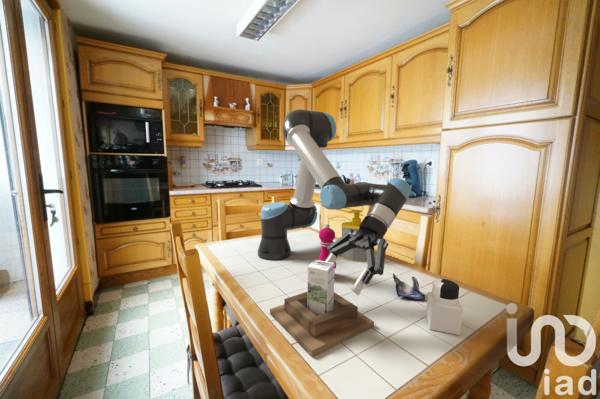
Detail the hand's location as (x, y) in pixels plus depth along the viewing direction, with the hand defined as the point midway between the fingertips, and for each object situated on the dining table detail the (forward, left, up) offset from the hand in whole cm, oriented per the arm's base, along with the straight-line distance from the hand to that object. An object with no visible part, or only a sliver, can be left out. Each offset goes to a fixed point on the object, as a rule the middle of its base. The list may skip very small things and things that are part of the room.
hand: (337, 282), depth 74 cm
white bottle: (+13, +24, -10) cm, 29 cm away
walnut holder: (+1, -6, -9) cm, 11 cm away
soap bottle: (-39, +28, -10) cm, 49 cm away
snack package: (-4, +28, -10) cm, 30 cm away
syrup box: (+1, -5, -8) cm, 10 cm away
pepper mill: (-24, +7, -10) cm, 27 cm away
